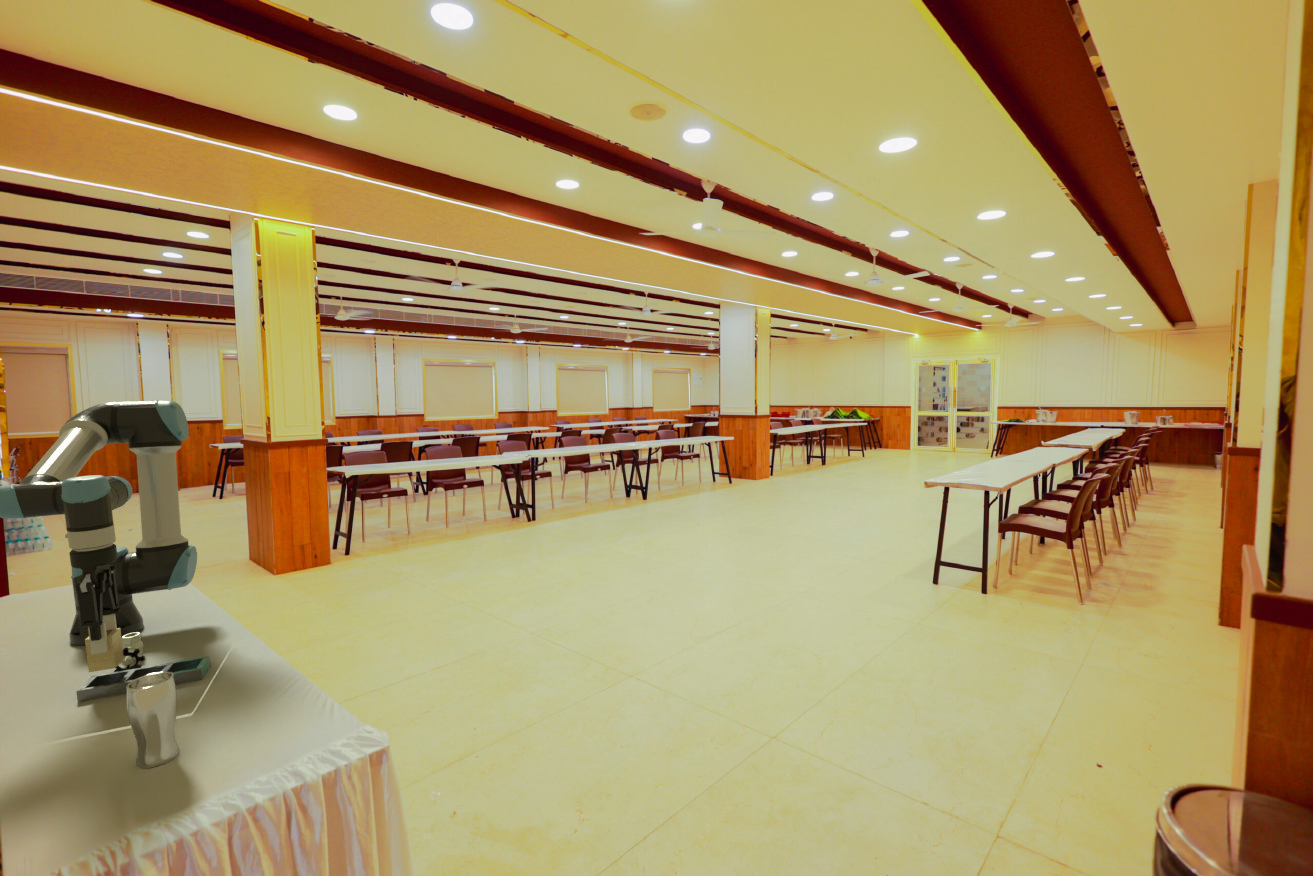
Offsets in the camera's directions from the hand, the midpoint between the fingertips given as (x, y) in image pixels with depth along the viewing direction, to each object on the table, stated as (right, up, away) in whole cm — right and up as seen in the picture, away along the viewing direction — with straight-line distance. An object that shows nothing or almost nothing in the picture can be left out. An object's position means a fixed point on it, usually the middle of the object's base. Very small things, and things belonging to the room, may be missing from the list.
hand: (105, 647), depth 134 cm
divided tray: (+7, -10, +3) cm, 12 cm away
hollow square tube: (0, -4, 0) cm, 4 cm away
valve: (-6, -10, +13) cm, 17 cm away
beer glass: (+32, -12, -24) cm, 42 cm away
